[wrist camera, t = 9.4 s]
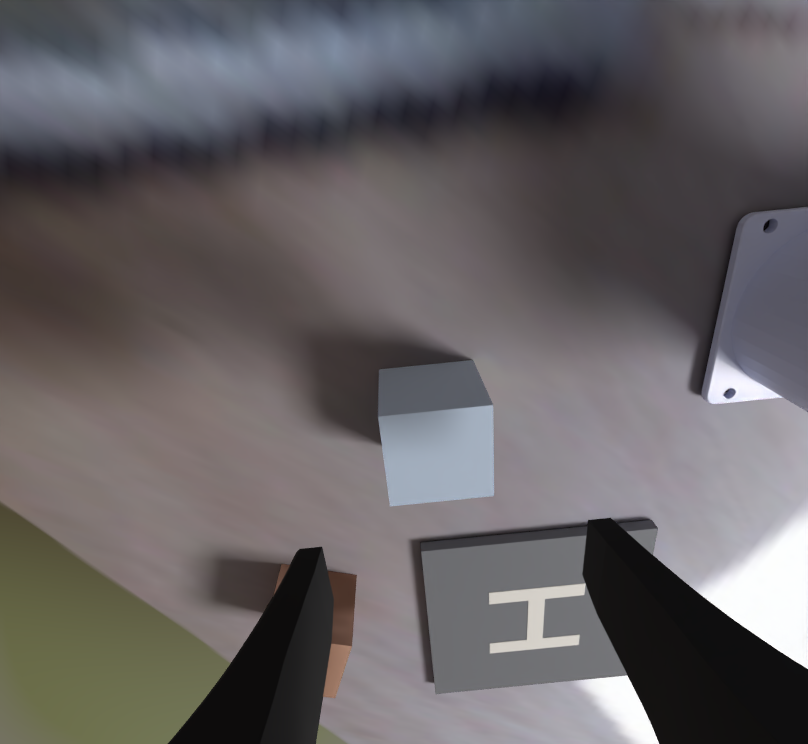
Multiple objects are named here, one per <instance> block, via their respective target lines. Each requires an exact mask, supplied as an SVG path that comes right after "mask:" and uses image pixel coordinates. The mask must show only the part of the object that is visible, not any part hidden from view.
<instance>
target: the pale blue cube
mask: <svg viewBox="0 0 808 744" xmlns="http://www.w3.org/2000/svg"><path fill="white" fill-rule="evenodd" d="M378 420H379V428H380V435H381V443H382V450H383V457H384V465H385V472H386V479H387V487H388V494H389V502H390V506H399V505H409V504H419V503H429V502H439V501H449V500H459V499H469V498H479V497H488V496H494V437H493V404H492V401H491V399H490V397H489V395H488V392H487V390H486V388H485V386H484V383H483V381H482V379H481V377H480V375H479V372H478V370H477V368H476V366H475V363H474V361H473V360H467V361H457V362H447V363H438V364H428V365H418V366H408V367H398V368H388V369H379V394H378Z"/></svg>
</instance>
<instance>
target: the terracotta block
mask: <svg viewBox="0 0 808 744" xmlns="http://www.w3.org/2000/svg"><path fill="white" fill-rule="evenodd" d="M289 566H290V565H286V564H281V568H280V572H279V576H278V580H277V584H276V588H275V592H276V590H277V589H278V587H279V585H280V583H281V581H282V579H283V578H284V576H285V574H286V572H287V570H288V568H289ZM328 575H329V580H330V584H331V589H332V593H333V597H334V609H333V628H332V642H331V649H330V655H329V662H328V668H327V675H326V681H325V687H324V694H323V697H331V698H335V697H336V694H337V691H338V687H339V684H340V681H341V678H342V675H343V672H344V669H345V666H346V663H347V660H348V657H349V654H350V651H351V647H352V637H353V622H354V607H355V592H356V577H357V575H352V574H345V573H339V572H332V571H328ZM275 592H274V594H275Z"/></svg>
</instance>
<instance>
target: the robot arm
mask: <svg viewBox="0 0 808 744" xmlns="http://www.w3.org/2000/svg"><path fill="white" fill-rule="evenodd" d="M768 220H769V226H768V228H767V229H766V230H765V231H763V226H764V224H765V223H766V222H767V221H768ZM727 389H729V390H728V392H727V393H725V394H724V392H725V391H726V390H727ZM701 393H702V397H703V399H704V400H706V401H707V402H708V403H710V404H722V403H732V402H742V401H752V400H762V399H772V398H782V397H783V398H785V399H787V400H789V401H790V402H792V403H794V404H795V405H797V406H799V407H800V408H802V409H804V410H805V411H807V412H808V207H800V208H790V209H780V210H770V211H760V212H752V213H749V214H747V215H745V216H744V217H743V218H742V219H741V220H740V221H739V223H738V226H737V229H736V233H735V238H734V243H733V247H732V252H731V257H730V261H729V266H728V271H727V275H726V280H725V285H724V289H723V294H722V299H721V303H720V308H719V313H718V317H717V322H716V327H715V331H714V336H713V341H712V345H711V350H710V355H709V359H708V364H707V369H706V373H705V378H704V383H703V387H702V392H701ZM582 575H583V578H584V581H585V584H586V586H587V589H588V592H589V595H590V597H591V600H592V603H593V605H594V608H595V610H596V613H597V615H598V617H599V619H600V621H601V623H602V625H603V627H604V629H605V631H606V633H607V635H608V637H609V639H610V641H611V643H612V645H613V647H614V649H615V651H616V653H617V655H618V657H619V659H620V661H621V663H622V665H623V667H624V669H625V671H626V673H627V675H628V677H629V679H630V681H631V683H632V685H633V687H634V689H635V691H636V693H637V695H638V697H639V699H640V701H641V703H642V705H643V707H644V709H645V711H646V713H647V716H648V718H649V720H650V722H651V724H652V727H653V729H654V731H655V734H656V736H657V739H658V741H659V744H808V669H807V668H805V667H803V666H802V665H800V664H798V663H797V662H795V661H794V660H792V659H791V658H789V657H787V656H786V655H784V654H783V653H781V652H780V651H778V650H777V649H775V648H774V647H772V646H771V645H769V644H768V643H766V642H765V641H763V640H762V639H760V638H759V637H757V636H756V635H754V634H753V633H752V632H750V631H749V630H747V629H746V628H744V627H743V626H741V625H740V624H739V623H737V622H736V621H734V620H733V619H732V618H730V617H729V616H727V615H726V614H725V613H724V612H722V611H721V610H720V609H718V608H717V607H716V606H714V605H713V604H712V603H710V602H709V601H708V600H706V599H705V598H704V597H703V596H701V595H700V594H699V593H698V592H696V591H695V590H694V589H693V588H691V587H690V586H689V585H688V584H686V583H685V582H684V581H683V580H682V579H680V578H679V577H678V576H677V575H676V574H674V573H673V572H672V571H671V570H670V569H668V568H667V567H666V566H665V565H664V564H663V563H661V562H660V561H659V560H658V559H657V558H656V557H654V556H653V555H652V554H651V553H650V552H649V551H648V550H646V549H645V548H644V547H643V546H642V545H641V544H640V543H639V542H637V541H636V540H635V539H634V538H633V537H632V536H631V535H630V534H628V533H627V532H626V531H625V530H624V529H623V528H622V527H621V526H619V525H618V524H617V523H616V522H615V521H614V520H612V519H611V518H605V519H595V520H588V526H587V535H586V545H585V554H584V563H583V572H582ZM333 609H334V597H333V593H332V589H331V584H330V580H329V575H328V571H327V567H326V562H325V558H324V553H323V549H322V547H315V548H305V549H299V550H298V551H297V552H296V554H295V556H294V558H293V560H292V562H291V564H290V566H289V568H288V570H287V572H286V574H285V576H284V578H283V579H282V581H281V583H280V585H279V587H278V589H277V590H276V592H275V594H274V596H273V597H272V599H271V601H270V603H269V604H268V606H267V608H266V609H265V611H264V613H263V614H262V616H261V618H260V619H259V621H258V623H257V624H256V626H255V628H254V629H253V631H252V632H251V634H250V635H249V637H248V638H247V640H246V641H245V643H244V644H243V646H242V647H241V649H240V650H239V652H238V653H237V655H236V657H235V658H234V659H233V661H232V662H231V664H230V665H229V667H228V668H227V670H226V671H225V672H224V674H223V675H222V676H221V678H220V679H219V681H218V682H217V683H216V685H215V686H214V687H213V689H212V690H211V691H210V693H209V694H208V695H207V697H206V698H205V699H204V700H203V702H202V703H201V704H200V705H199V707H198V708H197V709H196V710H195V712H194V713H193V714H192V715H191V717H190V718H189V719H188V721H186V723H185V724H184V725H183V727H182V728H181V729H180V730H179V731H178V732H177V734H176V735H175V736H174V737H173V738H172V740H171V741H170V742H169V743H168V744H316V739H317V731H318V725H319V719H320V713H321V706H322V700H323V694H324V687H325V681H326V675H327V668H328V662H329V655H330V649H331V642H332V628H333Z"/></svg>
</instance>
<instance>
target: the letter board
mask: <svg viewBox="0 0 808 744" xmlns="http://www.w3.org/2000/svg"><path fill="white" fill-rule="evenodd" d="M617 524H618V525H619V526H621V527H622V528H623V529H624V530H625V531H626V532H627V533H628V534H630V535H631V536H632V537H633V538H634V539H635V540H636V541H637V542H639V543H640V544H641V545H642V546H643V547H644V548H645V549H646V550H648V551H649V552H650V553H651V554H652V555H653V551H654V546H655V541H656V536H657V531H658V528H657V526H656V525H655V524H654V522H653V521H652V520H645V521H635V522H625V523H617ZM586 535H587V526H584V527H574V528H564V529H554V530H543V531H533V532H523V533H513V534H503V535H493V536H482V537H472V538H462V539H452V540H442V541H432V542H421V543H420V544H421V555H422V565H423V575H424V584H425V594H426V604H427V614H428V624H429V634H430V644H431V654H432V664H433V674H434V684H435V693H436V694H441V693H451V692H461V691H472V690H482V689H492V688H502V687H513V686H523V685H533V684H543V683H554V682H564V681H574V680H584V679H595V678H605V677H615V676H625V675H627V673H626V671H625V669H624V667H623V665H622V663H621V661H620V659H619V657H618V655H617V653H616V651H615V649H614V647H613V645H612V643H611V641H610V639H609V637H608V635H607V633H606V631H605V629H604V627H603V625H602V623H601V621H600V619H599V617H598V615H597V613H596V610H595V608H594V605H593V603H592V600H591V597H590V595H589V592H588V589H587V586H586V584H585V581H584V578H583V575H582V572H583V563H584V554H585V545H586Z"/></svg>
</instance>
